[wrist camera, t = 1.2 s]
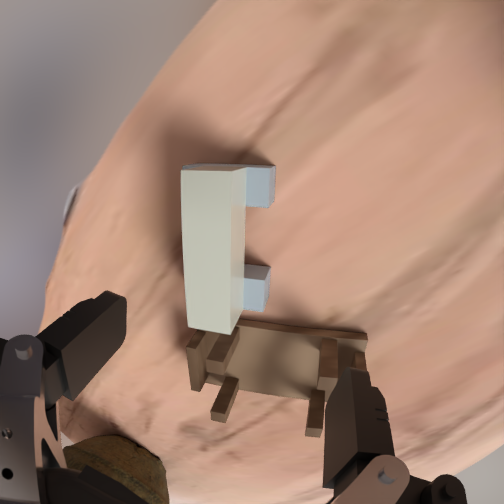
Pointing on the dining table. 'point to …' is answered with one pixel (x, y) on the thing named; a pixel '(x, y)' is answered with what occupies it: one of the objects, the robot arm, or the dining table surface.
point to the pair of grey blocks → (257, 195)
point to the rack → (274, 364)
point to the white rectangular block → (213, 245)
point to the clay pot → (122, 465)
